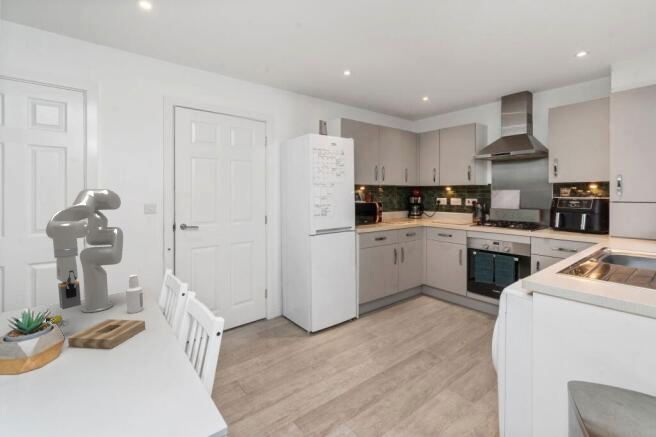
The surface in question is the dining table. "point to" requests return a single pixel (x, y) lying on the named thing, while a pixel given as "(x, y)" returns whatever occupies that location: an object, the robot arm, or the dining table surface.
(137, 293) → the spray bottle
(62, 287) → the key peg
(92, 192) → the robot arm
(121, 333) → the socket block
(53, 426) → the dining table surface
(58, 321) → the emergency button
